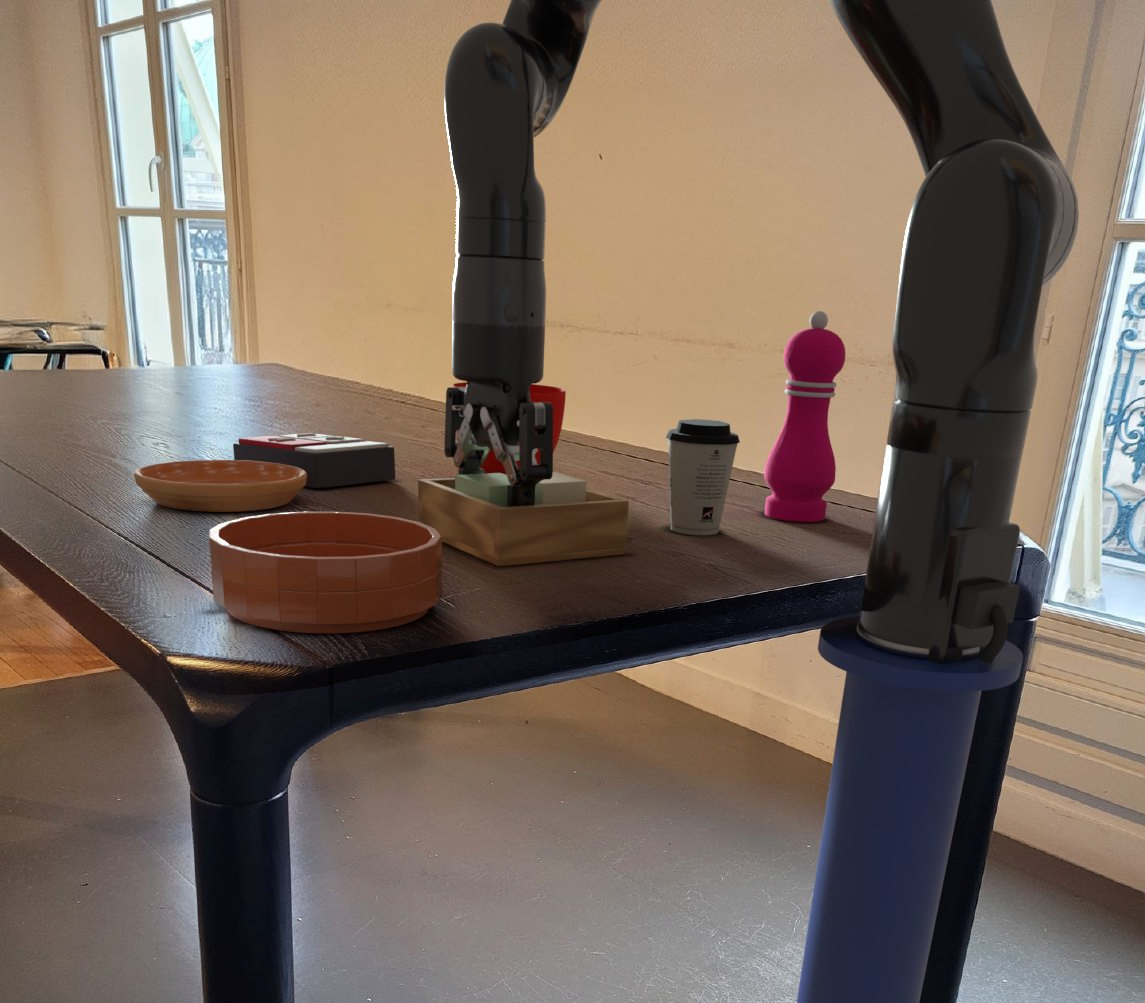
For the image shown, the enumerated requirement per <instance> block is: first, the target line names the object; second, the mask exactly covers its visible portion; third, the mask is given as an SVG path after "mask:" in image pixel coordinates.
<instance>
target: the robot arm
mask: <svg viewBox="0 0 1145 1003" xmlns="http://www.w3.org/2000/svg"><path fill="white" fill-rule="evenodd" d="M602 1H603V0H510V1H509V4H508V7H507V10H506V13H505V15H504V18H503V21H502V23H498V22H481V23H478V24H476V25H474V26H472V27H470V28H469V29H467V30H466V31H465V32H464V33H463V34H461V36H459V38H458V39H457V41H456V43H454V46H453V47H452V49H451V52H450V55H449V57H448V62H447V65H446V70H445V77H444V89H443V90H444V91H443V95H444V96H443V97H444V98H443V99H444V100H443V101H444V113H445V114H444V115H445V124H446V132H447V140H448V145H449V152H450V161H451V168H452V171H453V176H454V181H455V185H456V196H457V199H456V200H457V201H456V220H455V221H456V223H455V224H456V227H455V228H456V230H455V231H456V234H455V239H456V240H455V242H456V243H455V255H456V257H455V268H454V274H453V280H452V312H451V313H452V315H451V316H452V317H451V318H452V319H451V320H452V322H451V327H452V328H451V373H452V376H453V377H454V378H455V379H456V380H458V381H461V382H462V381H463V382H467V386H466V387H452V386H449V387H447V388H446V391H445V413H444V414H445V415H444V416H445V417H444V446H443V447H444V448H443V452H444V455H445V457H446V458H452V459H453V464H454V466H455V468H457V469H458V475H466V474H484V469H481V468H479V467H482V466H483V465H484V462H485V460H486V458H487V455H488V453H489V451H490V450H494V453H495V457H496V459H497V460H498V461H500V462H502V463H503V465H504V468H505V471H506V474H507V478H508V481H509V483H510V485H508V492H507V507H513V506H528V505H535V487H536V484H538V483H539V482H540V481H542V480H544V479H551V478H552V475H553V472H554V452H553V406H552V404H551V403H550V402H532V403H531V400H530V392H529V388H530V386H531V384H535V385H536V384H539V383H540V382H541V381H542V380H543V378H544V366H545V365H544V364H545V340H546V315H547V314H546V313H547V284H546V283H547V282H546V271H545V261H544V260H545V252H546V228H547V227H546V222H547V205H546V196H545V191H544V189H543V186H542V184H541V183H540V181H539V179H538V178H537V175H536V169H535V146H534V145H535V142H534V141H535V138H537V137H538V136H539V135H540V134H542V133H543V132H544V131H545V130H546V129H547V128H548V126H549V125H550V124H551V123H552V121H553V120H554V118H555V117H556V115H557V114H558V112H559V111H560V108H561V107H562V105H563V103H564V101H565V98H566V97H567V94H568V93H569V89H570V88H571V84H572V82H573V79H574V76H575V75H576V71H577V68H578V66H579V62H580V60H581V57H582V54H583V51H584V49H585V45H586V42H587V40H588V36H589V32H590V29H591V26H592V23H593V19H594V16H595V14H596V12H597V9H598V8H599V6H600V5H601V2H602ZM827 2H828V4H829V6H830V8H831V10H832V12H833V14H834V15H835V17H836V20H837V21H838V23H839V24H840V26H841V28H842V29H843V31H844V33H845V34H846V36H847V38H848V39H849V41H850V42H851V44H852V45H853V47H854V49H855V50H856V52H857V53H858V55H859V56H860V58H861V59H862V61H863V62H864V64H865V65H866V66H867V68H868V70H869V71H870V73H871V74H872V75H873V77H874V78H875V79H876V81H877V83H878V84H879V86H880V87H881V88H882V89H883V91H884V93H885V94H886V95H887V97H888V98H889V100H890V101H891V103H892V104H893V106H894V107H895V109H896V110H897V112H898V114H899V116H900V117H901V120H902V121H903V123H904V125H905V127H906V129H907V131H908V133H909V135H910V138H911V140H912V142H913V145H914V147H915V150H916V152H917V155H918V159H919V161H920V164H921V167H922V171H923V173H924V177H925V178H924V179H923V181H922V182H921V184H920V185H919V188H918V190H917V192H916V194H915V197H914V200H913V202H912V205H911V208H910V212H909V215H908V218H907V219H908V220H907V223H906V229H905V233H904V240H903V246H902V252H901V253H902V255H901V261H900V270H899V278H898V285H897V294H896V304H895V312H894V313H895V314H894V321H893V330H892V342H891V344H892V348H891V349H892V359H893V364H894V370H895V383H894V392H893V397H892V398H893V400H892V403H891V410H890V416H889V425H888V430H887V437H886V442H885V443H886V444H885V449H884V455H883V461H882V468H881V474H880V481H879V489H878V495H877V500H876V506H875V514H874V521H873V527H872V534H871V541H870V546H869V554H868V560H867V565H866V566H867V567H866V573H865V580H864V586H863V587H864V588H863V595H862V600H861V610H860V615H859V616H860V621H859V622H858V624H857V631H856V637H857V638H858V639H859V640H860V641H861V642H863V643H864V644H866V645H868V646H870V647H872V648H875V649H877V650H880V651H883V652H887V653H890V654H894V655H899V656H903V657H908V658H915V659H922V660H928V661H931V662H934V663H937V664H948V663H953V662H958V661H963V660H968V659H974V658H980V659H981V660H982V661H984V662H985V663H992V661H993V660H994V658H995V657H996V656H997V655H998V653H999V652H1000V651H1001V649H1002V648H1003V646H1004V644H1005V641H1007V638H1008V633H1009V632H1008V631H1009V627H1008V626H1009V625H1008V624H1011V623H1013V622H1014V618H1015V612H1016V608H1017V604H1018V599H1019V594H1020V589H1021V586H1020V585H1018V584H1014V583H1011V578H1012V574H1013V567H1014V564H1015V559H1016V555H1017V554H1016V553H1017V549H1018V545H1019V538H1020V533H1021V528H1020V526H1019V525H1018V524H1017V523H1014V522H1010V520H1011V513H1012V508H1013V503H1014V499H1015V494H1016V488H1017V483H1018V477H1019V473H1020V467H1021V464H1022V457H1023V453H1024V447H1025V443H1026V438H1027V433H1028V427H1029V423H1030V417H1031V414H1032V410H1031V409H1033V404H1034V399H1035V395H1036V390H1037V384H1038V376H1039V375H1038V374H1039V372H1038V367H1037V363H1036V357H1035V334H1036V327H1037V326H1036V325H1037V319H1038V314H1039V308H1040V302H1041V296H1042V291H1043V287H1044V286H1045V285H1047V284H1048V283H1049V282H1050V281H1051V280H1053V279H1054V278H1055V276H1056V275H1057V274H1059V272H1060V270H1061V269H1062V267H1063V266H1064V265H1065V263H1066V261H1067V260H1068V258H1069V256H1070V254H1071V252H1072V250H1073V247H1074V245H1075V241H1076V238H1077V234H1078V228H1079V218H1080V208H1079V199H1078V198H1079V197H1078V195H1077V191H1076V188H1075V185H1074V182H1073V180H1072V178H1071V176H1070V175H1069V173H1068V171H1067V169H1066V168H1065V166H1064V164H1063V162H1062V160H1061V159H1060V157H1059V155H1058V153H1057V151H1056V150H1055V148H1054V146H1053V145H1052V143H1051V141H1050V139H1049V137H1048V134H1046V132H1045V130H1044V128H1043V126H1042V124H1041V122H1040V120H1039V119H1038V116H1037V115H1036V112H1035V111H1034V108H1033V106H1032V105H1031V103H1030V101H1029V99H1028V96H1027V95H1026V93H1025V91H1024V89H1023V86H1022V85H1021V83H1020V81H1019V78H1018V76H1017V74H1016V71H1015V70H1014V68H1013V65H1012V62H1011V60H1010V56H1009V55H1008V52H1007V49H1006V45H1005V42H1004V39H1003V36H1002V33H1001V30H1000V27H999V22H998V19H997V15H996V12H995V8H994V5H993V1H992V0H827ZM459 414H460V415H459ZM459 429H460V430H459ZM457 430H459V432H458V435H456V431H457ZM535 431H537V432H536V433H535ZM518 444H519V445H518ZM538 448H540V464H537V461H536V458H535V454H536V453H537V451H538ZM475 450H476V451H475ZM516 461H519V469H518V467H517V464H516Z"/></svg>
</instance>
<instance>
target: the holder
mask: <svg viewBox="0 0 1145 1003" xmlns="http://www.w3.org/2000/svg"><path fill="white" fill-rule="evenodd" d="M417 504H418V505H417V522H420V523H423V524H425V525H427V526H430V527H432V528H434V529H436V530H437V531H438V533H439V534H440V535H441V537H442V543H444V544H447V545H449V546H451V547H453V548H456V549H458V550H460V551H463V552H465V553H467V554H469V555H472V556H474V557H475V558H478V559H481V560H483V561H485V562H487V563H489V564H491V565H494V566H496V567H506V566H508V567H509V566H519V565H528V564H529V565H531V564H539V563H550V562H558V561H559V562H560V561H570V560H580V559H581V560H582V559H591V558H601V557H611V556H612V557H613V556H623V555H625V554H626V546H627V531H628V520H629V519H628V516H629V500H627V499H623V498H620V497H617V496H614V495H610V494H607V493H604V492H600V491H598V490H594V489H591V488H587V487H586V502H574V503H559V504H543V505H528V506H513V507H502V506H499V505H496V504H493V503H490V502H488V501H485V500H482V499H479V498H477V497H474V496H471V495H468V494H465V493H463V492H460V491H457V490H455V477H444V478H421V479H417Z"/></svg>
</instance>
